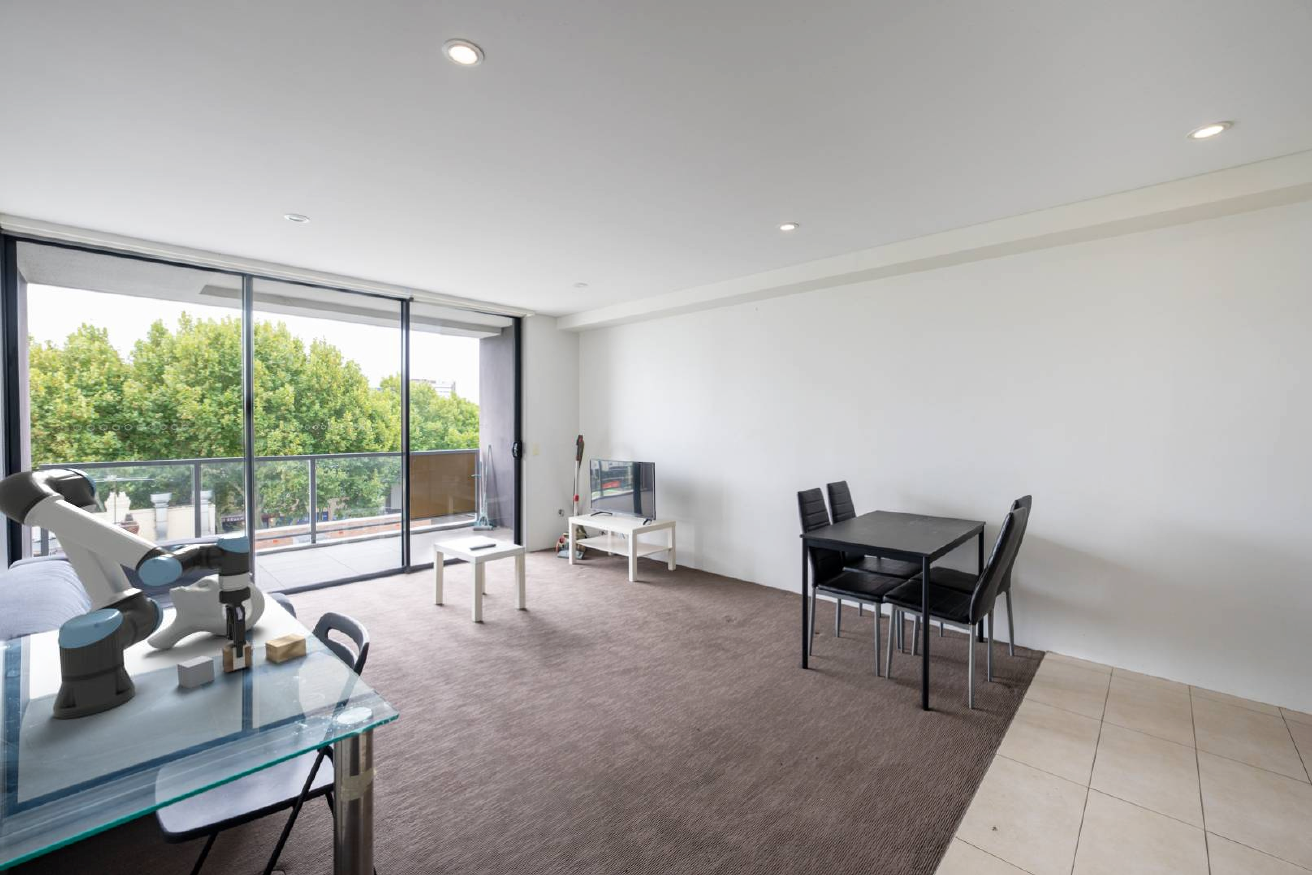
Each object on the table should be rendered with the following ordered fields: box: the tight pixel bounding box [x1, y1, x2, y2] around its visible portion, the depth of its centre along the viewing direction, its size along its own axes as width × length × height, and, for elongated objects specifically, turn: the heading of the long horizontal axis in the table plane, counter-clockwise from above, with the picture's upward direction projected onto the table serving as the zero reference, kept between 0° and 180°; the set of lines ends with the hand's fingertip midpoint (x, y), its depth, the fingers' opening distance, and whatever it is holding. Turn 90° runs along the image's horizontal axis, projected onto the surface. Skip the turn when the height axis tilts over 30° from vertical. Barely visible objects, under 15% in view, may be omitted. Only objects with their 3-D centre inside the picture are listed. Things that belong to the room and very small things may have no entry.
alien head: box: [146, 574, 266, 650], centre depth 190 cm, size 21×25×32 cm
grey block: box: [177, 655, 215, 689], centre depth 157 cm, size 6×6×6 cm
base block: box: [265, 633, 307, 664], centre depth 173 cm, size 8×8×5 cm
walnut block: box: [221, 639, 253, 673], centre depth 165 cm, size 6×6×6 cm
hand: (236, 664), depth 165 cm, fingers closed on walnut block, 6 cm apart
